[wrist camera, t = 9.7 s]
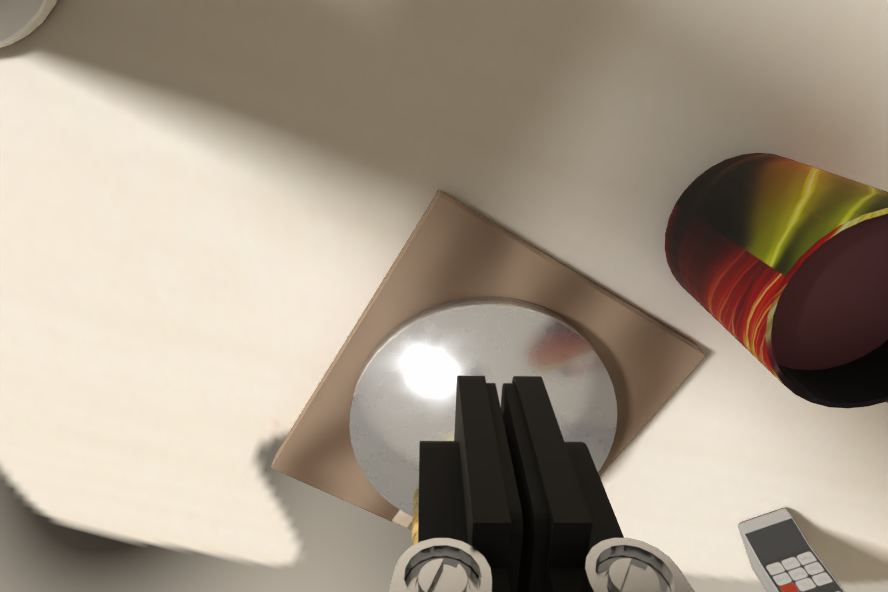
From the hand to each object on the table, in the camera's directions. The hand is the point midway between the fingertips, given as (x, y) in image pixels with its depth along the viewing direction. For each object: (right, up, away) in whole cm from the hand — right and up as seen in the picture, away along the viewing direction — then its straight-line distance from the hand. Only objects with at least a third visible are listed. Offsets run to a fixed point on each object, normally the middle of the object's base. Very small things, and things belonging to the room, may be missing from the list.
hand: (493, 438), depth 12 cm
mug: (+19, +6, +26) cm, 33 cm away
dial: (+1, -5, +28) cm, 28 cm away
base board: (+1, -4, +29) cm, 30 cm away
